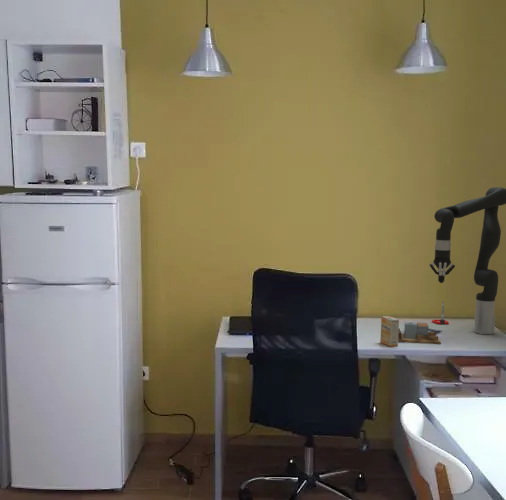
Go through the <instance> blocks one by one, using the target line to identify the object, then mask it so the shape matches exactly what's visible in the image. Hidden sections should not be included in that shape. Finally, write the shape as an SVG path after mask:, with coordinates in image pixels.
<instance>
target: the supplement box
mask: <svg viewBox="0 0 506 500" xmlns="http://www.w3.org/2000/svg"><path fill="white" fill-rule="evenodd" d="M380 318H381V321H380V323H381V324H380V339H379V341H380V343H381V344H384V345H386V346H388V347H389V348H390V347H397V346H399V345H398V344H399V342H398V329H399V327H400V319H398V318H396V317H393V316H390V315H383V316H381V317H380Z"/></svg>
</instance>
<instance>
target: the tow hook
mask: <svg viewBox="0 0 506 500" xmlns="http://www.w3.org/2000/svg"><path fill="white" fill-rule="evenodd" d="M431 323H433V324H436V325H449V324H450V322H449V321H448V320H446V319H445V301H444V300H443V301H442V302H441V316H440V319H432V320H431Z"/></svg>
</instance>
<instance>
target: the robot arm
mask: <svg viewBox="0 0 506 500" xmlns="http://www.w3.org/2000/svg"><path fill="white" fill-rule="evenodd" d="M505 205H506V188H505V187H490V188H488V189H487V191H486V192H485V195H484V196H481V197H477V198H472V199H469V200H468V199H467V200H465V201H462V202H458V203H457V204H454V205H450V206H445V207H442V208H439V209H438V210H436V212H435V213H434V219H435V221H436V222H437V223H440V226H439V228H437V229H436V233H435V235H436V237H435V242H434V243H435V245H434V259H433V260H432V261H433V262H431V263H429V265H428V266H429V267H430V268H431V270H432V271H433V272H434V274H435V275H438V277H437V278H438V279H437V281H438V282H439V283H440V284H444V282H445V277H446V276H447V275H449V274H450V273H451V272H452V271H453V270H454V268H455V267H456V265H455V264H453V263H452V261H451V250H452V248H451V247H452V243H451V240H452V239H451V237H452V235H451V233H452V229H453V227H454V222H455V219H460V218H464V217H466V216H469V215H471V214H474V213H477V212H480V211H482V210H483V211H484V215H483V223H482V229H481V236H480V244H479V249H478V250H479V252H478V257H477V260H476V265H475V269H474V273H473V274H474V275H473V281H474V284H475V285H476V286H480V287H483V291H481V292H478V293H477V294H476V295H475V313H474V327H473V329H474V330H473V332H474V333H476V334H479V335H480V334H481V335H494V334H495V326H496V325H495V322H496V315H495V306H496V305H495V303H496V297H497V294H498V287H499V286H498V285H499V275H498V272H497V271H496V270H493V269H489V263H490V260H491V258H492V256H493V254H495V252H496V251H497V249H498V248H499V246H500V241H501V235H502V234H501V233H502V229H501V225H500V221H499V219H498V213H499V206H500V207H501V206H505ZM435 266H436V268H437V269H436V268H435Z"/></svg>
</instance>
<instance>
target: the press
mask: <svg viewBox="0 0 506 500" xmlns="http://www.w3.org/2000/svg"><path fill="white" fill-rule="evenodd" d="M398 343H406V344H407V343H408V344H409V343H411V344H412V343H413V344H428V343H429V344H430V345H431V344H432V345H433V344H434V345H441V343H442V342H441V339H440V338H439V336H438V335H437V332H434V331H428V336H424V335H417V336H416V339H413V338H405V337H404V333H402V330H401V329H400V328H399V329H398Z"/></svg>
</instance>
